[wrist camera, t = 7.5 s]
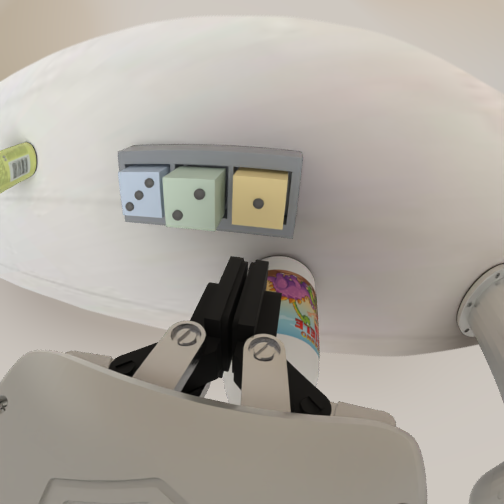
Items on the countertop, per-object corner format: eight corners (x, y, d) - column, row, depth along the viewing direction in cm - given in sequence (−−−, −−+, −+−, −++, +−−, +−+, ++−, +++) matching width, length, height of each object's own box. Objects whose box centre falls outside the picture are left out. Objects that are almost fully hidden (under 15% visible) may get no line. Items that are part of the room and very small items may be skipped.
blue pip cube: (175, 162, 23) (157, 172, 20) (177, 203, 25) (161, 219, 22) (137, 162, 24) (116, 172, 20) (140, 201, 26) (122, 215, 22)
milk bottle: (269, 318, 33) (246, 483, 16) (230, 274, 30) (171, 454, 13) (327, 293, 30) (339, 476, 13) (290, 240, 27) (278, 450, 10)
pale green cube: (225, 168, 22) (214, 180, 18) (224, 213, 24) (214, 232, 20) (179, 166, 22) (161, 178, 19) (181, 209, 24) (165, 227, 21)
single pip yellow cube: (288, 169, 22) (287, 181, 19) (283, 212, 24) (282, 230, 21) (241, 165, 23) (232, 176, 20) (239, 208, 25) (231, 225, 22)
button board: (301, 151, 22) (302, 158, 20) (292, 224, 26) (292, 238, 24) (134, 145, 24) (117, 151, 21) (139, 210, 27) (125, 221, 25)
